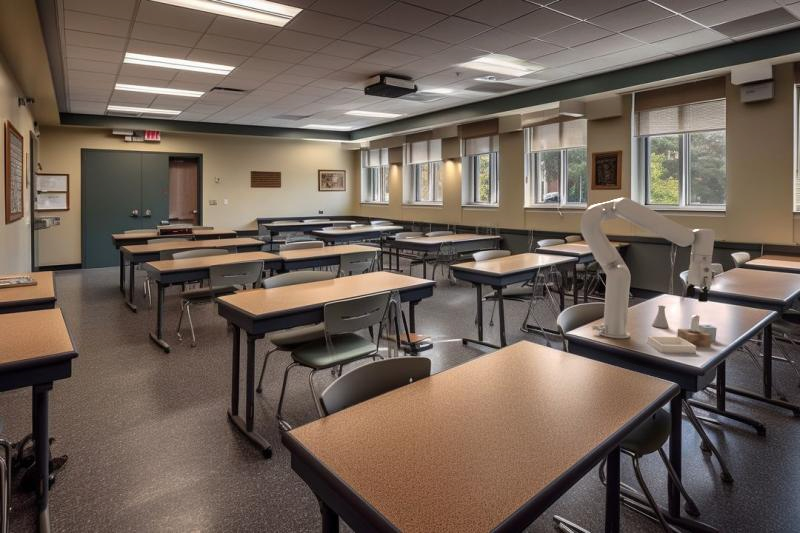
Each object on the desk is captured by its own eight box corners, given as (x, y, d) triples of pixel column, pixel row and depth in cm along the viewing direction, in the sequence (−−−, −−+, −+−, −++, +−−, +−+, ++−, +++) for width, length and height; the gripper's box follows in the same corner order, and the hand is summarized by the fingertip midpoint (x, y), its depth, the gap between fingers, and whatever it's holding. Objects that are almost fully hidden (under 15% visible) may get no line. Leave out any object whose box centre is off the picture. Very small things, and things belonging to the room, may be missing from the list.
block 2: (703, 340, 208) (704, 327, 208) (697, 337, 213) (698, 324, 213) (715, 341, 208) (716, 327, 207) (708, 338, 213) (710, 324, 212)
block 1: (687, 346, 200) (688, 334, 200) (676, 340, 209) (677, 328, 208) (710, 346, 200) (711, 335, 199) (698, 340, 209) (699, 329, 208)
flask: (669, 326, 233) (671, 305, 232) (668, 329, 227) (669, 308, 226) (652, 323, 237) (654, 304, 236) (650, 327, 231) (652, 306, 230)
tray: (661, 352, 191) (662, 345, 191) (647, 343, 204) (647, 336, 204) (695, 353, 191) (696, 346, 190) (679, 344, 203) (679, 337, 203)
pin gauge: (691, 344, 203) (694, 316, 202) (687, 342, 206) (690, 314, 204) (698, 344, 203) (701, 316, 201) (694, 342, 206) (697, 315, 204)
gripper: (722, 261, 191) (717, 304, 193) (699, 256, 208) (694, 295, 210) (703, 261, 191) (698, 303, 194) (681, 255, 208) (676, 294, 211)
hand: (696, 299), depth 202 cm, fingers open, 9 cm apart
